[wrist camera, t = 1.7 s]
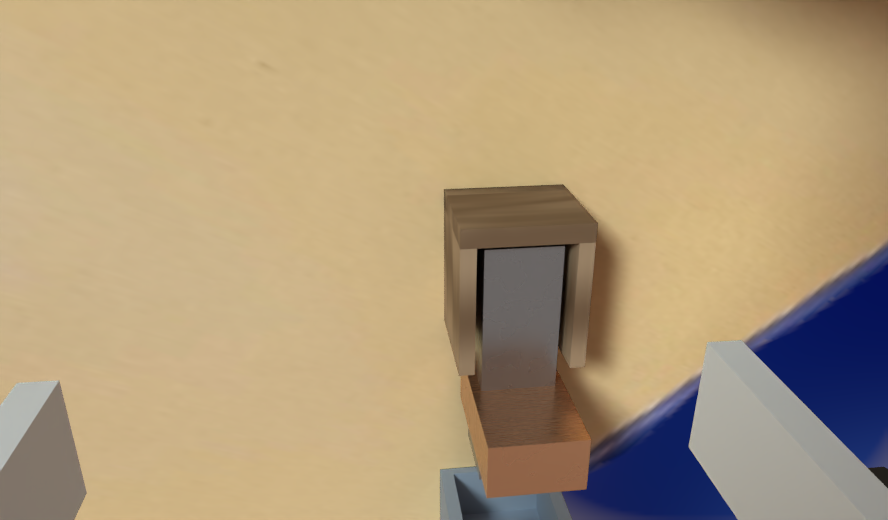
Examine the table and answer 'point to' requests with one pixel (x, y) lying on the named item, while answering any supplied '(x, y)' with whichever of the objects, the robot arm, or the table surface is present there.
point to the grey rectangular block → (493, 501)
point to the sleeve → (513, 225)
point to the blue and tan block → (522, 378)
